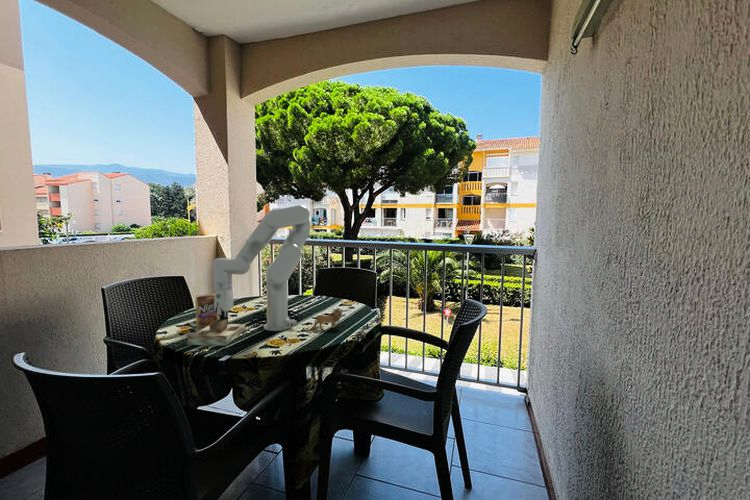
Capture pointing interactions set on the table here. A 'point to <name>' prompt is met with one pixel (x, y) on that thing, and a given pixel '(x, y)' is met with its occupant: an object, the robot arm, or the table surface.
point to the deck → (216, 335)
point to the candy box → (205, 310)
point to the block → (218, 326)
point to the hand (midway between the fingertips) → (223, 324)
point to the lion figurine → (328, 318)
